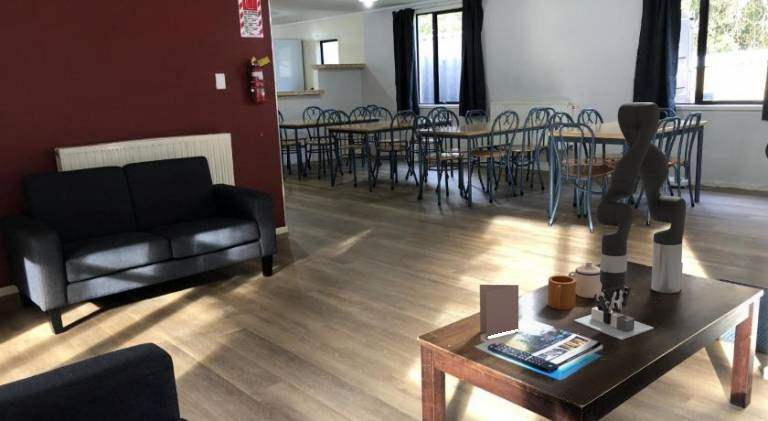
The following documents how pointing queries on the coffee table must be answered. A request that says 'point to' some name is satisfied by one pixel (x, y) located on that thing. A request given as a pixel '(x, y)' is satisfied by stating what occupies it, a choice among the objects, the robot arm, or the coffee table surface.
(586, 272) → the teacup with lid
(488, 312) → the greeting card
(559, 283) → the mug
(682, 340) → the coffee table surface
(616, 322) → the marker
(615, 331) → the paper pad
